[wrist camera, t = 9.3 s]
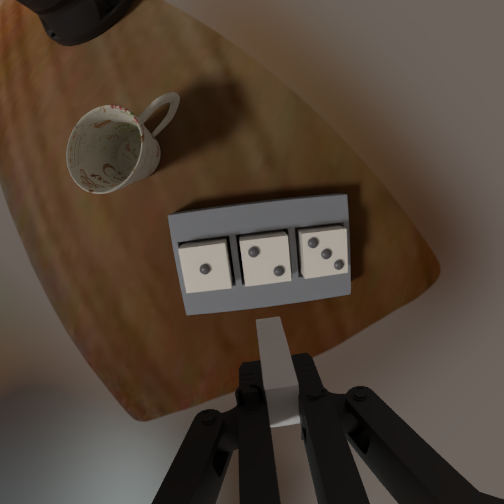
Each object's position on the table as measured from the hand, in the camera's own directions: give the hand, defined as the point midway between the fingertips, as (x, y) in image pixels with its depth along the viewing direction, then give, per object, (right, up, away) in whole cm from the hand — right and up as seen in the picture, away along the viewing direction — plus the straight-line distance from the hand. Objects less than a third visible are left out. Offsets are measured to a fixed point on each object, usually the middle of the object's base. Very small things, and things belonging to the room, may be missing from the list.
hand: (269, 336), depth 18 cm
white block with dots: (+7, +6, +16) cm, 19 cm away
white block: (-6, +5, +16) cm, 18 cm away
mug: (-13, +19, +14) cm, 27 cm away
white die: (0, +5, +16) cm, 17 cm away
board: (0, +6, +17) cm, 18 cm away
